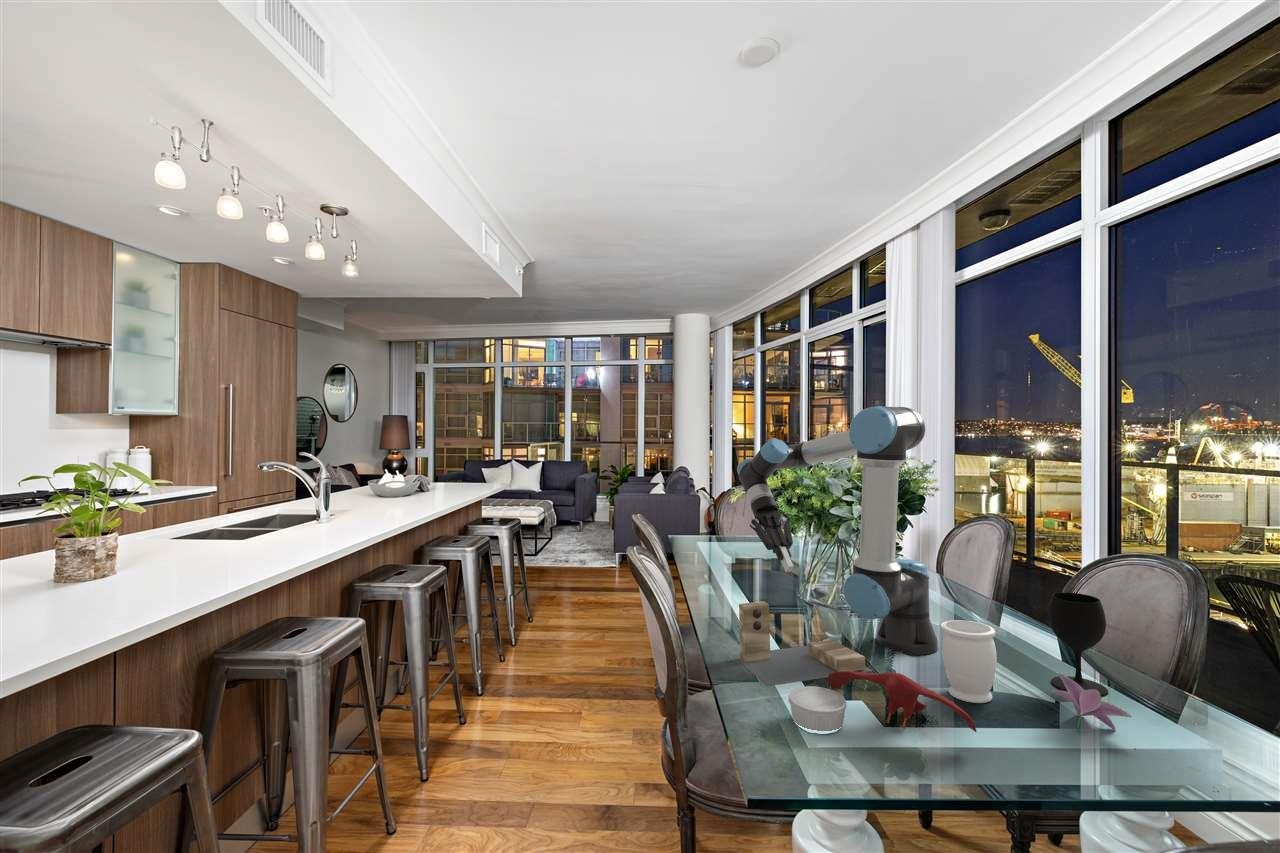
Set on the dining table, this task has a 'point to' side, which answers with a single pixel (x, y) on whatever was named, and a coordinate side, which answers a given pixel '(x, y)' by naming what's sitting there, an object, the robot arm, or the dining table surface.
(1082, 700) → the lily
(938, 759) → the dining table surface
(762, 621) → the tile two
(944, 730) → the dining table surface
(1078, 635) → the wine glass
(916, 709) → the red dinosaur figurine
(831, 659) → the tile one
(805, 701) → the ramekin
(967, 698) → the jar
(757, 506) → the robot arm
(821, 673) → the mat
